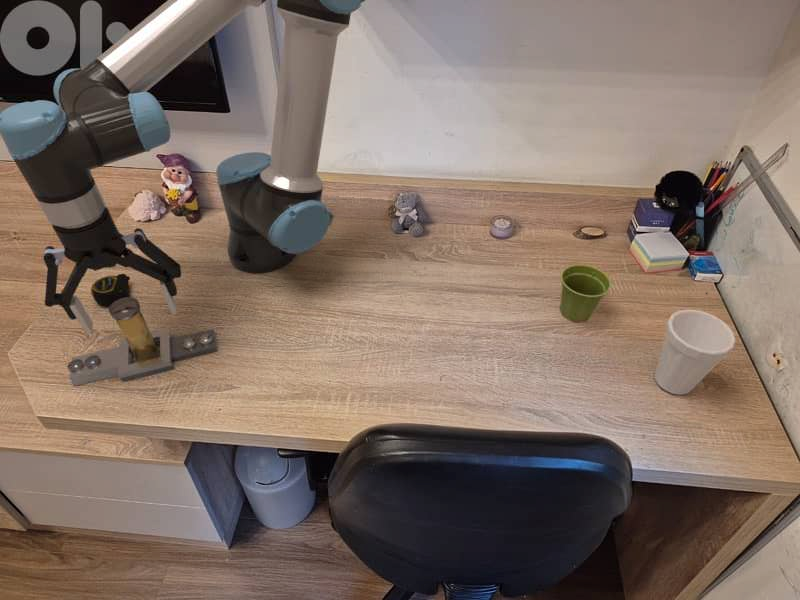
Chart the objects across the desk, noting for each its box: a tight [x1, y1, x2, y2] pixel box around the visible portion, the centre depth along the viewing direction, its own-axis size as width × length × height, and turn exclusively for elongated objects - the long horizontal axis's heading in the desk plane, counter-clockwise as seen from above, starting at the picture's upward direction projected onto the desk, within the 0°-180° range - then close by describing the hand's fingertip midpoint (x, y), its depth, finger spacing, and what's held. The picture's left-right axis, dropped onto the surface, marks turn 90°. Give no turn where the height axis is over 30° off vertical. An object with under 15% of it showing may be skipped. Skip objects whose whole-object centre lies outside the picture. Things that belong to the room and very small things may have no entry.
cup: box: [654, 309, 736, 396], centre depth 88 cm, size 10×10×13 cm
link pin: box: [108, 296, 161, 363], centre depth 92 cm, size 5×5×13 cm
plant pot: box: [559, 263, 612, 323], centre depth 103 cm, size 9×9×9 cm
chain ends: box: [67, 328, 218, 387], centre depth 95 cm, size 24×9×3 cm, turn 110°
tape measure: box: [90, 273, 131, 307], centre depth 107 cm, size 7×7×4 cm
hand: (133, 318), depth 90 cm, fingers open, 13 cm apart
